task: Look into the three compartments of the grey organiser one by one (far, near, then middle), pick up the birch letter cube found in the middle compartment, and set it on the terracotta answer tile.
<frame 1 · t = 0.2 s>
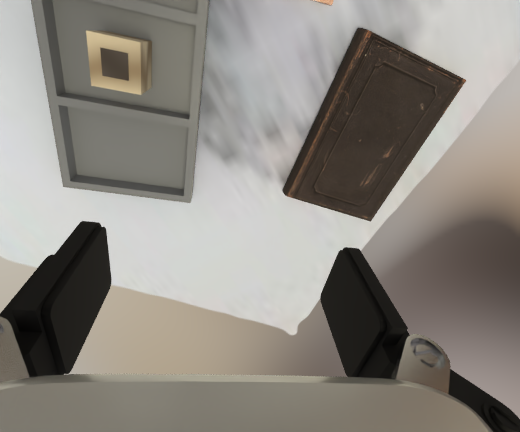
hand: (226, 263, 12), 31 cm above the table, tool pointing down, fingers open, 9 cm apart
birch cube: (122, 62, 31), in the grey organiser
hardcover book: (360, 137, 43), on the table
grey organiser: (130, 60, 34), on the table
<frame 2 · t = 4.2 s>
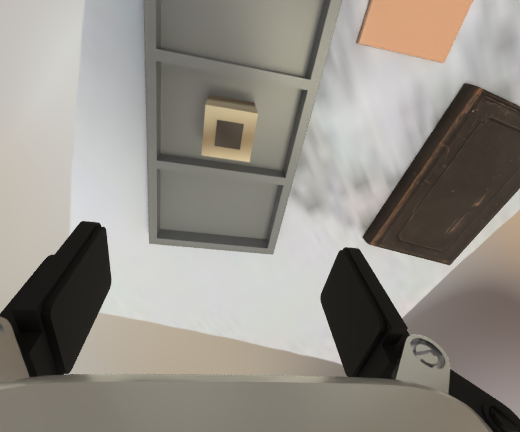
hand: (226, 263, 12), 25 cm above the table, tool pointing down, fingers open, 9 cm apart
birch cube: (229, 128, 30), in the grey organiser
hardcover book: (448, 184, 41), on the table
grey organiser: (229, 120, 33), on the table
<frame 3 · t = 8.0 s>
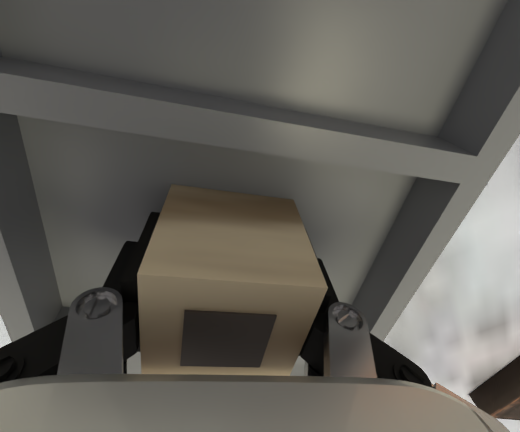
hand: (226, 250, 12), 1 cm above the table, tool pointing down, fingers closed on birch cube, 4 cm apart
birch cube: (226, 281, 11), in the grey organiser, touching gripper
grey organiser: (227, 235, 13), on the table
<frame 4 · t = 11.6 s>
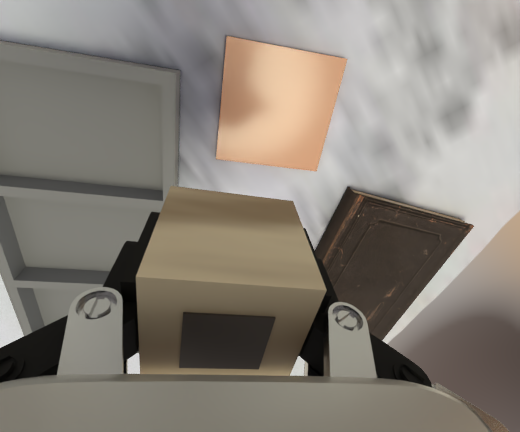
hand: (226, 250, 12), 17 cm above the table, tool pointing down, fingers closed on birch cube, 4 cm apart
birch cube: (225, 283, 11), point 19 cm above the table, touching gripper
hardcover book: (359, 273, 39), on the table
terracotta tile: (276, 111, 26), on the table
grey organiser: (95, 232, 31), on the table
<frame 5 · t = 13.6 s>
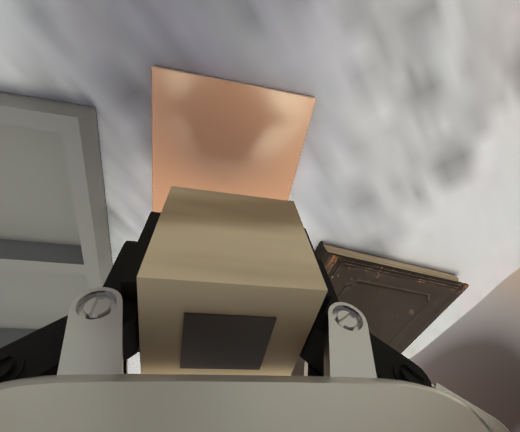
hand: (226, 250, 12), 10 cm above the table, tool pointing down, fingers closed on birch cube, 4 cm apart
birch cube: (226, 283, 11), point 12 cm above the table, touching gripper
hardcover book: (336, 325, 34), on the table
terracotta tile: (227, 157, 20), on the table
grey organiser: (12, 289, 25), on the table
when the fingers open (3 cm above the table, at t = 15.3 s): birch cube drops 2 cm, resting on terracotta tile.
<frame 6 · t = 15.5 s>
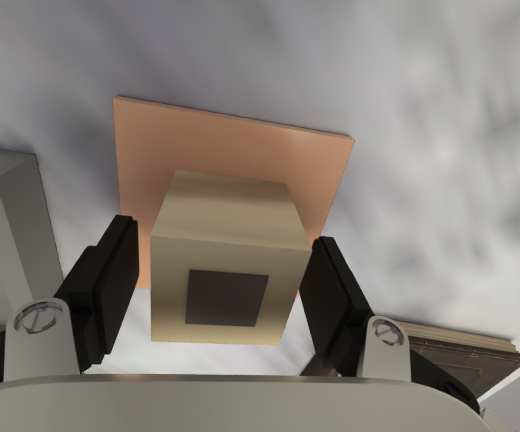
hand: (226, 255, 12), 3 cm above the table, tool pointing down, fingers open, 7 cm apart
birch cube: (225, 254, 12), on the terracotta tile, point 3 cm above the table
hardcover book: (359, 393, 28), on the table
terracotta tile: (227, 215, 15), on the table
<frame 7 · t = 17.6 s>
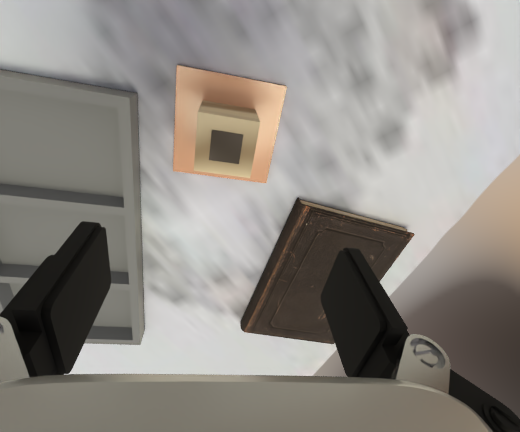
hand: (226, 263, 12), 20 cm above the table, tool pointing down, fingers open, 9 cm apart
birch cube: (226, 138, 26), on the terracotta tile, point 3 cm above the table
hardcover book: (315, 274, 42), on the table
terracotta tile: (226, 129, 29), on the table
grey organiser: (65, 233, 34), on the table
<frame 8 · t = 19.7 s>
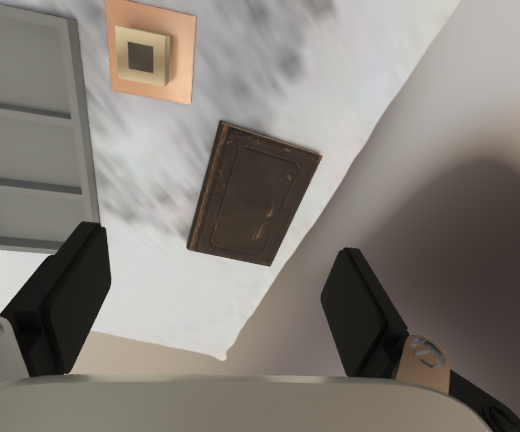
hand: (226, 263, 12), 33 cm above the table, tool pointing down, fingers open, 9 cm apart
birch cube: (146, 56, 33), on the terracotta tile, point 3 cm above the table
hardcover book: (248, 199, 49), on the table
terracotta tile: (152, 55, 36), on the table
grey organiser: (27, 149, 41), on the table
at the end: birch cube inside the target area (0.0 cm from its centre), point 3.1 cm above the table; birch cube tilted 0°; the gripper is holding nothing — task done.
